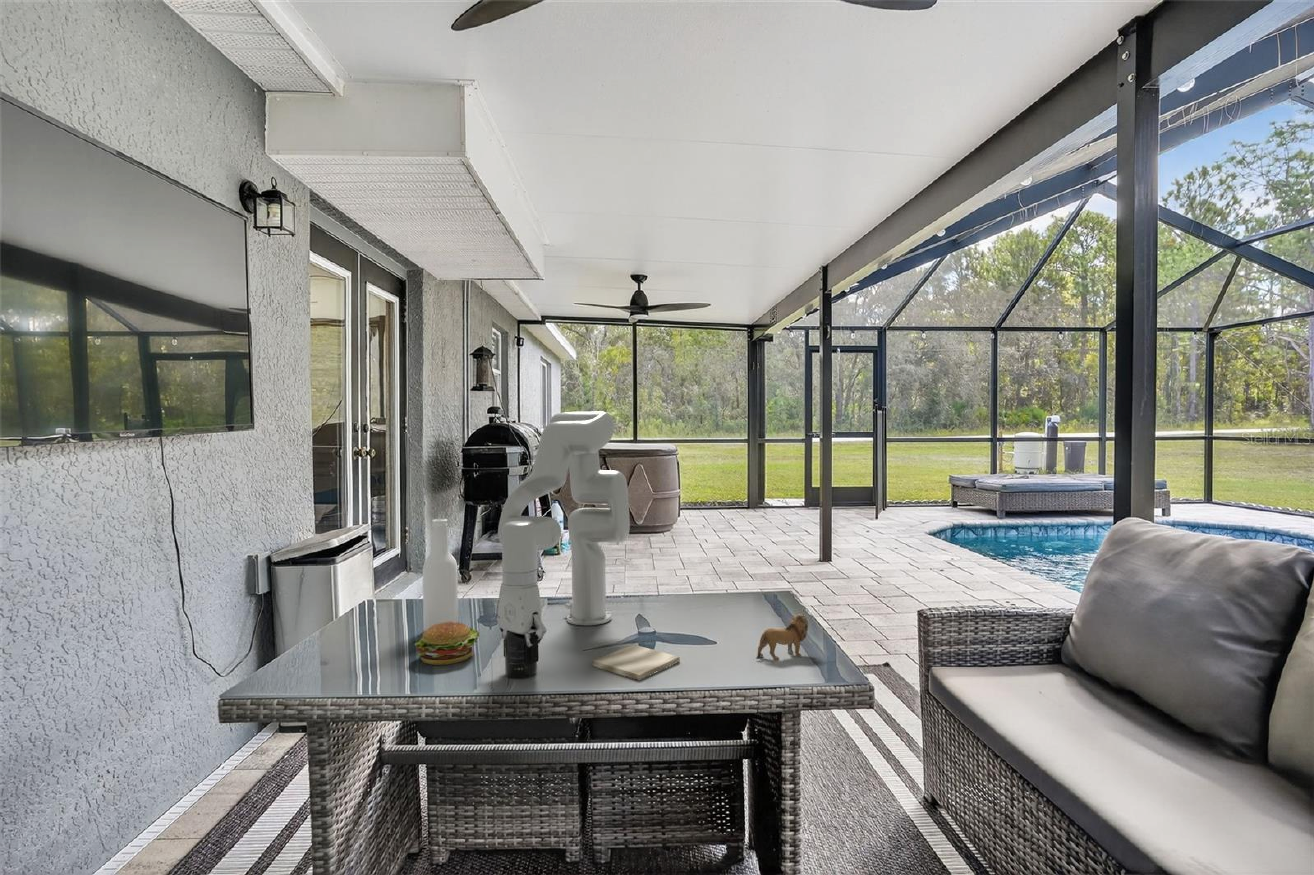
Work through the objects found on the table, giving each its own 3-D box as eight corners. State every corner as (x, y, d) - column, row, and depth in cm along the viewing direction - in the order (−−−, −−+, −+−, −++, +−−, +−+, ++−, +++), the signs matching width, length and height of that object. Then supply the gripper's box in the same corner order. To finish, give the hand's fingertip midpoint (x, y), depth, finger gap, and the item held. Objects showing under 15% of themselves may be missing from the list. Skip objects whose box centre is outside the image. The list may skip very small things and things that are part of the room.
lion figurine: (799, 647, 154) (799, 610, 154) (814, 654, 150) (814, 616, 150) (749, 658, 148) (749, 619, 148) (763, 665, 143) (763, 625, 143)
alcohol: (416, 634, 168) (414, 521, 168) (439, 624, 177) (438, 517, 177) (442, 637, 165) (441, 522, 165) (464, 628, 173) (463, 518, 173)
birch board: (592, 665, 143) (592, 660, 143) (634, 649, 154) (634, 644, 154) (639, 680, 134) (638, 675, 134) (679, 662, 145) (679, 657, 145)
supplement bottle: (507, 668, 142) (507, 615, 142) (538, 667, 143) (537, 614, 143) (502, 680, 136) (502, 624, 136) (535, 678, 136) (534, 623, 136)
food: (454, 671, 141) (454, 635, 141) (404, 664, 146) (404, 629, 146) (491, 651, 154) (491, 618, 154) (443, 645, 159) (443, 613, 159)
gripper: (482, 575, 142) (483, 655, 142) (531, 586, 131) (532, 673, 131) (509, 570, 148) (510, 647, 148) (559, 580, 137) (560, 663, 137)
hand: (520, 658), depth 139 cm, fingers closed on supplement bottle, 6 cm apart
